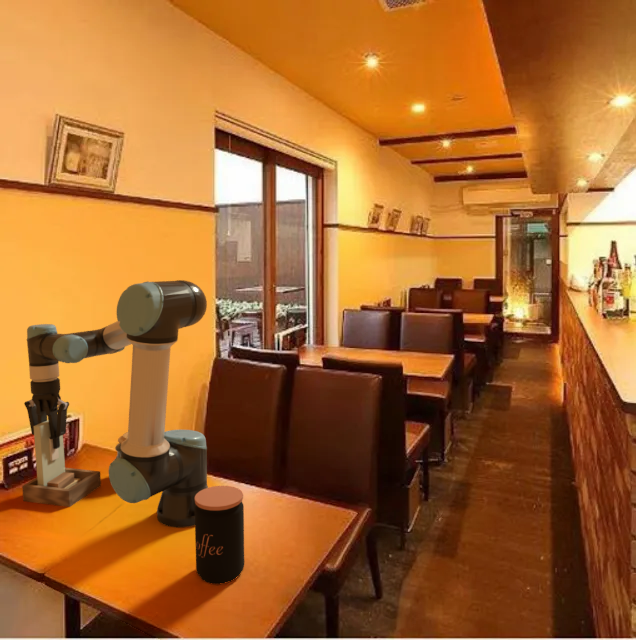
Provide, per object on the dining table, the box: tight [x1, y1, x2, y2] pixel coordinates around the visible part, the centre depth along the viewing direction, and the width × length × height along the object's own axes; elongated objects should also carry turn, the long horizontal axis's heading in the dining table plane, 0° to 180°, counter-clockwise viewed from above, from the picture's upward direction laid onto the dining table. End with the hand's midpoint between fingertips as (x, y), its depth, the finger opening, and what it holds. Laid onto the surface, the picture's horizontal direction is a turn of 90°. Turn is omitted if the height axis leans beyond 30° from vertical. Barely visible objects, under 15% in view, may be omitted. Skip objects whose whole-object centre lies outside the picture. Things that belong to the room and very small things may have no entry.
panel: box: [33, 419, 66, 486], centre depth 159 cm, size 2×9×18 cm, turn 167°
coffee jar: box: [194, 485, 245, 585], centre depth 123 cm, size 11×11×18 cm
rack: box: [21, 467, 102, 508], centre depth 160 cm, size 15×14×6 cm
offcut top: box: [47, 472, 74, 488], centre depth 159 cm, size 3×8×2 cm, turn 171°
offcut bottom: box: [64, 478, 80, 489], centre depth 160 cm, size 4×10×2 cm, turn 167°
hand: (50, 458), depth 159 cm, fingers closed on panel, 2 cm apart
